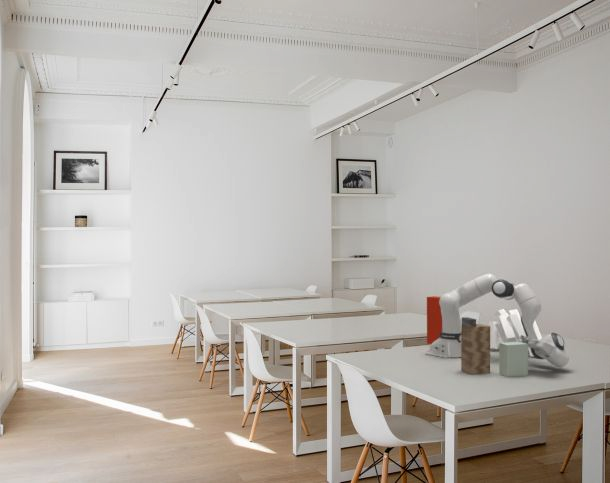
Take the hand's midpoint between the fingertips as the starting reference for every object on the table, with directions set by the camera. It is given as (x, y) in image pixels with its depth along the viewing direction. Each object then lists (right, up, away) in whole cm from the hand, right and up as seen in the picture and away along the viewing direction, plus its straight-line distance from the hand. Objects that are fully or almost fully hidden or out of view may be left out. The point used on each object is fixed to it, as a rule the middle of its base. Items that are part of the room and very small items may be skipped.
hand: (524, 337), depth 308 cm
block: (-6, -20, -2) cm, 21 cm away
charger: (+1, -8, +5) cm, 9 cm away
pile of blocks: (+16, -20, +57) cm, 63 cm away
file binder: (-25, -19, +85) cm, 90 cm away
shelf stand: (-24, -19, +5) cm, 32 cm away
